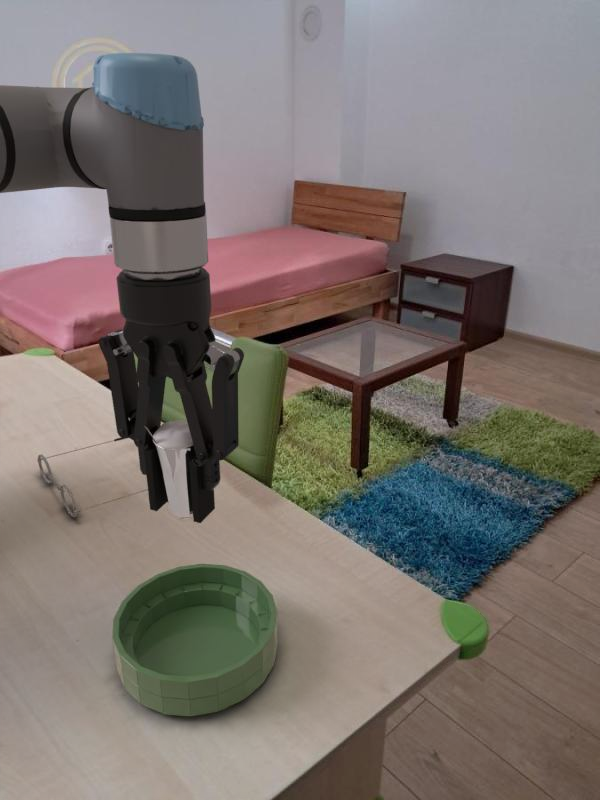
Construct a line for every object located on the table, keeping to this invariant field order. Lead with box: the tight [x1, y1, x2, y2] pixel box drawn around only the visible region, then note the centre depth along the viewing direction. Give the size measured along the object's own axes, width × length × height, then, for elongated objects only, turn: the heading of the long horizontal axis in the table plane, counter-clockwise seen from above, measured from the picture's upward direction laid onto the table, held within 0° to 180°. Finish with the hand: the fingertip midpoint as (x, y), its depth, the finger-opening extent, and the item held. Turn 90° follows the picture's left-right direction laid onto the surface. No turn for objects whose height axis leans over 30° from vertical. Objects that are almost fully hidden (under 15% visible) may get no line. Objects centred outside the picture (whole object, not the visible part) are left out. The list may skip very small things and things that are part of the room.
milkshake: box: [144, 419, 196, 519], centre depth 59 cm, size 4×5×10 cm
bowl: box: [111, 563, 278, 717], centre depth 65 cm, size 16×16×5 cm
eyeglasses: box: [36, 437, 148, 518], centre depth 97 cm, size 18×19×4 cm
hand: (182, 508), depth 61 cm, fingers closed on milkshake, 4 cm apart
